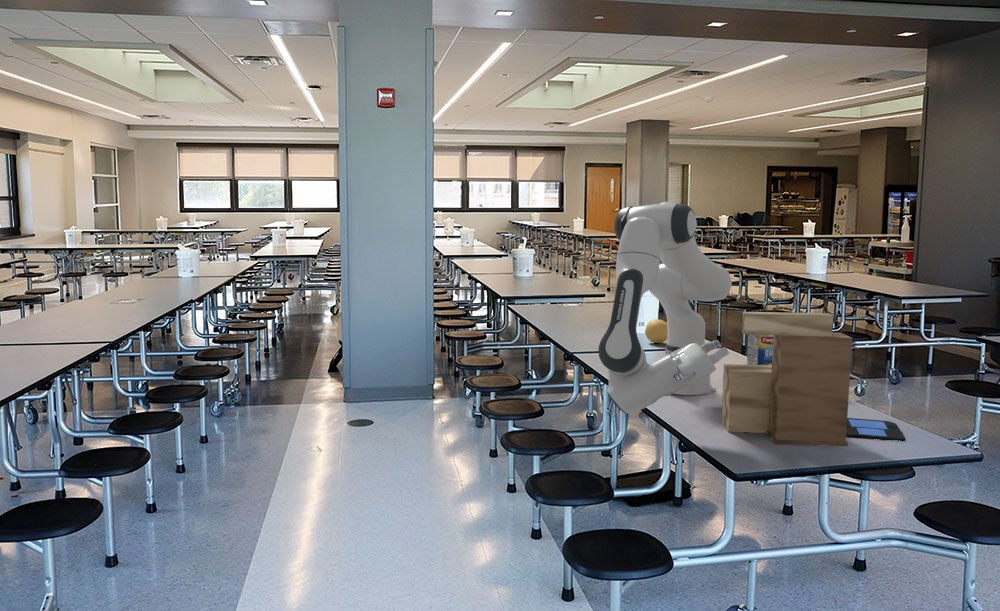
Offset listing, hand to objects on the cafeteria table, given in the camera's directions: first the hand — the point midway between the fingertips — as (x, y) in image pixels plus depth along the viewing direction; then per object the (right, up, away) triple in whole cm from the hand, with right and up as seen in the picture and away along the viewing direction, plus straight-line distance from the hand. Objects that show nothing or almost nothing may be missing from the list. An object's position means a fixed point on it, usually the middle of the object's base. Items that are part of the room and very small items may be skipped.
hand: (723, 346), depth 188 cm
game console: (+39, -23, +8) cm, 46 cm away
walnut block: (+21, -23, +1) cm, 31 cm away
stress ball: (+10, -6, +130) cm, 130 cm away
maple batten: (+15, +3, -2) cm, 15 cm away
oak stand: (+15, -22, +11) cm, 28 cm away
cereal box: (+32, -15, +62) cm, 71 cm away
